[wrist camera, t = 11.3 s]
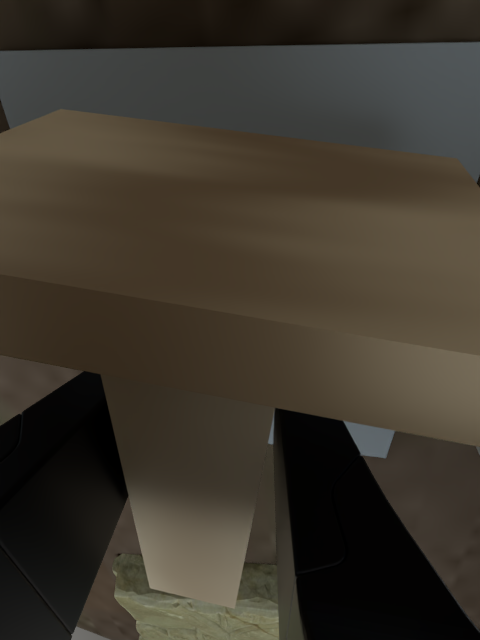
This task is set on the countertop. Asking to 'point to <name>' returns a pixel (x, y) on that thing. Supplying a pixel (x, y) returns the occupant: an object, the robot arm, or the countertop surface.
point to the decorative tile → (199, 606)
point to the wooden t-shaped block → (236, 305)
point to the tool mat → (271, 101)
